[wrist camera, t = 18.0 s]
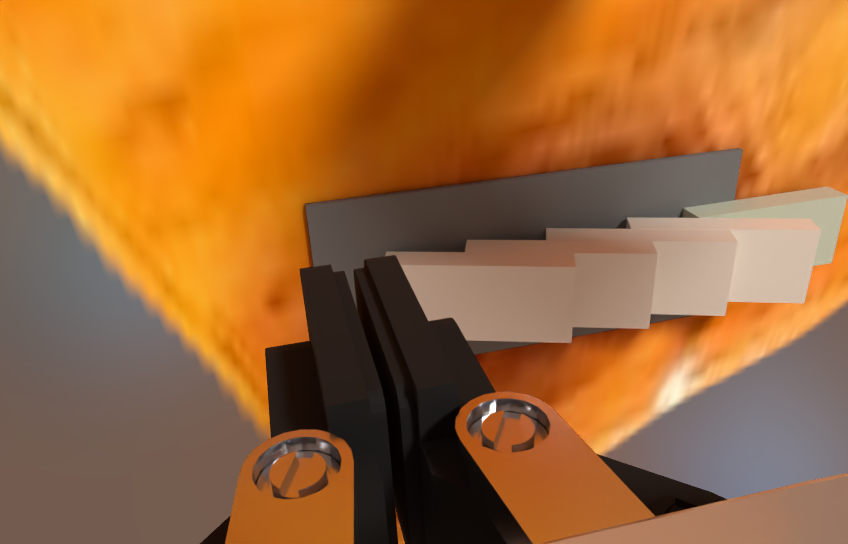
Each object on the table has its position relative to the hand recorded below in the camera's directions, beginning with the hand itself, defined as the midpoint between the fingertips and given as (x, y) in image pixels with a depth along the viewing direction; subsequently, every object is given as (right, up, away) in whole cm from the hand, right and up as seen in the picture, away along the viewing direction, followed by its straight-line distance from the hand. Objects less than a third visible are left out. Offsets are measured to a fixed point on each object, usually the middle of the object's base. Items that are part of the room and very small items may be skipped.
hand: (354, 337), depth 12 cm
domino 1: (-1, 0, +29) cm, 29 cm away
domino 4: (+14, +2, +32) cm, 35 cm away
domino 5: (+19, +3, +33) cm, 38 cm away
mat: (+8, +2, +32) cm, 34 cm away
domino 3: (+9, +1, +31) cm, 33 cm away
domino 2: (+4, 0, +30) cm, 31 cm away
